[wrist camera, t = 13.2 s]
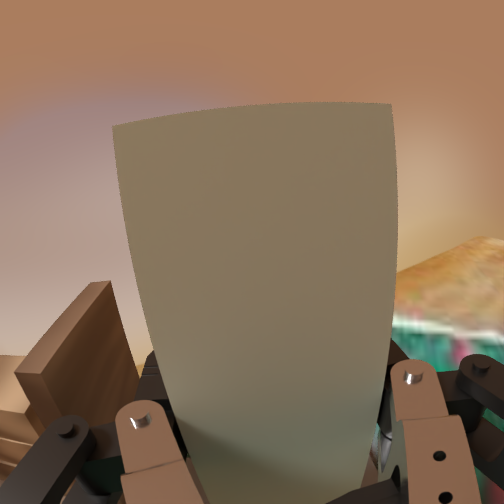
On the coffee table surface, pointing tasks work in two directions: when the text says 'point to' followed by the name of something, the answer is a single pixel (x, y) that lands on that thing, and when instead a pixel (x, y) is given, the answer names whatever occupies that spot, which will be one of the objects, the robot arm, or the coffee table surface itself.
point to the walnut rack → (81, 363)
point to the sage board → (267, 287)
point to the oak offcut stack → (15, 418)
